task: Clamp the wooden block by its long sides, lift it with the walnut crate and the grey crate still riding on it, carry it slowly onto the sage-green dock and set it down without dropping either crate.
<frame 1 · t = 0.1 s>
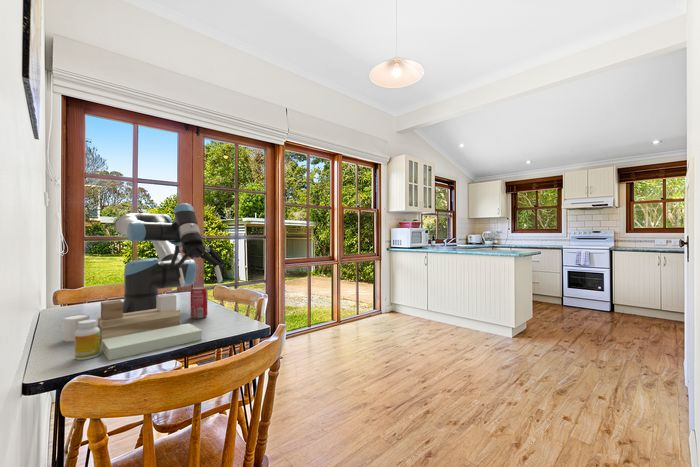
hand: (202, 283, 121), 15 cm above the table, tool tilted 35°, fingers open, 13 cm apart
dock: (154, 344, 98), on the table
supplement bottle: (87, 357, 88), on the table
white cup: (75, 339, 104), on the table
beverage can: (199, 317, 130), on the table
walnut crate: (111, 317, 103), point 7 cm above the table, touching wooden block
wooden block: (140, 333, 109), on the table, touching grey crate, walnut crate
grey crate: (166, 309, 115), point 7 cm above the table, touching wooden block
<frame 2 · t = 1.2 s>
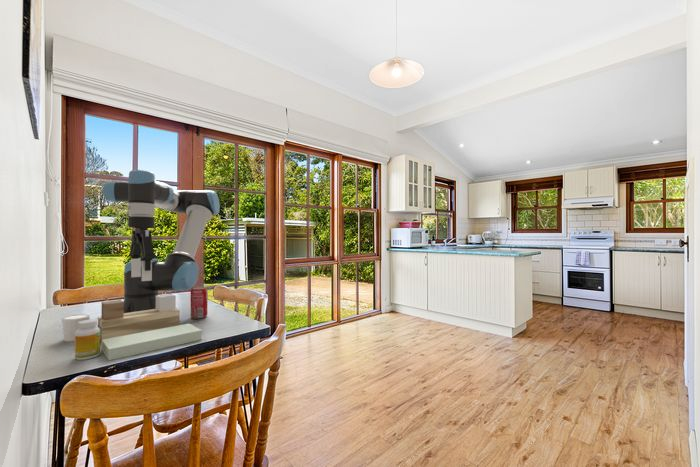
hand: (141, 278, 109), 18 cm above the table, tool pointing down, fingers open, 13 cm apart
nothing on the table moved.
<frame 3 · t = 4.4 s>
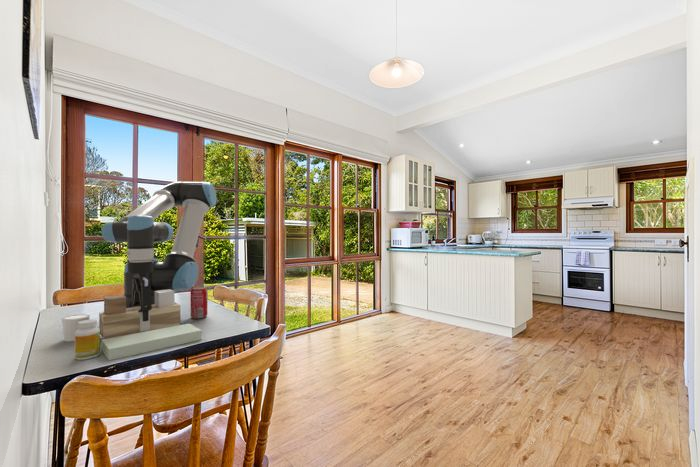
hand: (141, 327, 110), 2 cm above the table, tool pointing down, fingers closed on wooden block, 8 cm apart
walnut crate: (115, 312, 104), point 8 cm above the table, touching wooden block
wooden block: (141, 328, 110), point 1 cm above the table, touching grey crate, gripper, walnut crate
grey crate: (164, 305, 115), point 8 cm above the table, touching wooden block
everything else where it was.
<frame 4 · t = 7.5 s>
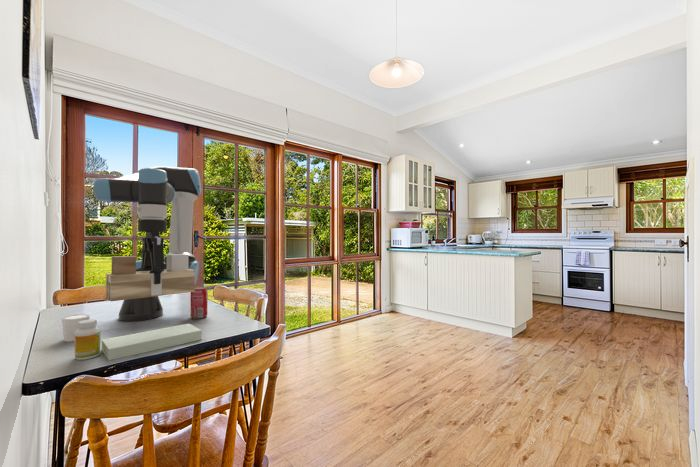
hand: (152, 293, 99), 16 cm above the table, tool pointing down, fingers closed on wooden block, 8 cm apart
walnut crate: (123, 273, 94), point 22 cm above the table, touching wooden block
wooden block: (152, 294, 99), point 15 cm above the table, touching grey crate, gripper, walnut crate
grey crate: (177, 270, 104), point 22 cm above the table, touching wooden block
everything else where it was.
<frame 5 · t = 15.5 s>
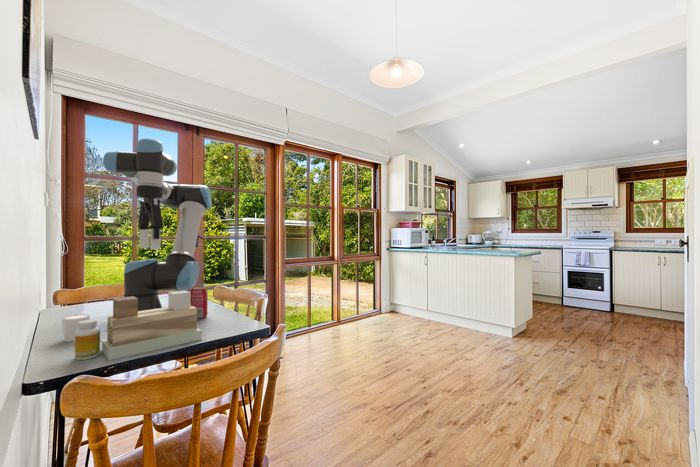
hand: (149, 248, 109), 29 cm above the table, tool pointing down, fingers open, 13 cm apart
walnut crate: (125, 315, 93), point 10 cm above the table, touching wooden block
wooden block: (154, 334, 98), point 3 cm above the table, touching dock, grey crate, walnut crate
grey crate: (179, 307, 103), point 10 cm above the table, touching wooden block
everything else where it was.
at the end: wooden block inside the target area on the dock (0.1 cm from its centre), point 3.0 cm above the dock's base; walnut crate touching wooden block; grey crate touching wooden block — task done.
